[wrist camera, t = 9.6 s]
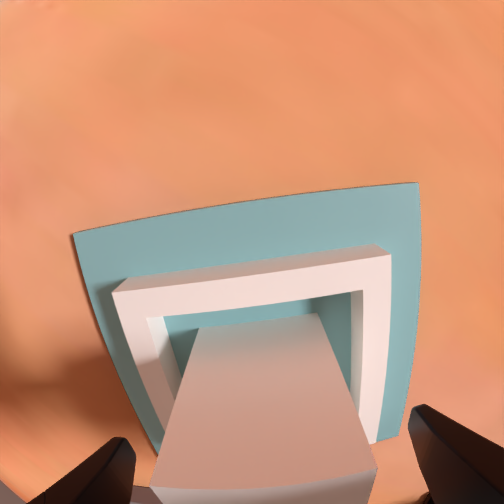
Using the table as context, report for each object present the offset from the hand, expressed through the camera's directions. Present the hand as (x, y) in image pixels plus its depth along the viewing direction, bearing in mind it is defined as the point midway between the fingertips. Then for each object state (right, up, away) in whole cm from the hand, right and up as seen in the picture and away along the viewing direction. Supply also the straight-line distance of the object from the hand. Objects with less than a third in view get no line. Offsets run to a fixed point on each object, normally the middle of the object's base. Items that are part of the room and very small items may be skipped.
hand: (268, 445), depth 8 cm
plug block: (0, +1, +4) cm, 4 cm away
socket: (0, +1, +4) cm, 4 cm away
